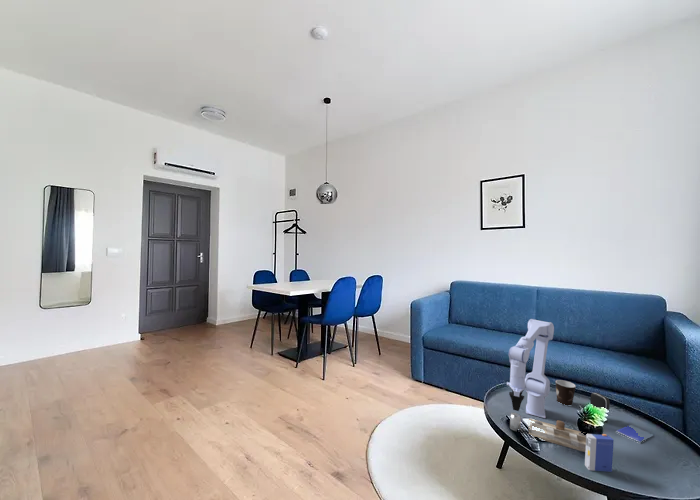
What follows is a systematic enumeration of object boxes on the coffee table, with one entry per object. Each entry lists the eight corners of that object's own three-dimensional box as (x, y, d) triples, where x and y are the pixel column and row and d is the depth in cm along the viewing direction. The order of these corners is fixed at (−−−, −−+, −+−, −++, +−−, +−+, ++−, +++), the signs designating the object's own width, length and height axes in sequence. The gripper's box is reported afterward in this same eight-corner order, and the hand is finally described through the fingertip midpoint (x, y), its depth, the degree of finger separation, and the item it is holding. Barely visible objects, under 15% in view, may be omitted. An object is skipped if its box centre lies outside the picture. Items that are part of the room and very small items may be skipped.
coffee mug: (555, 397, 170) (555, 378, 169) (574, 402, 165) (575, 383, 164) (553, 405, 160) (554, 386, 160) (574, 411, 155) (575, 391, 155)
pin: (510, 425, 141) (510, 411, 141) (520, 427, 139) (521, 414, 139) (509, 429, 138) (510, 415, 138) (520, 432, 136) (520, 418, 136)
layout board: (528, 420, 146) (529, 411, 146) (593, 437, 134) (593, 428, 134) (528, 436, 134) (529, 426, 133) (599, 456, 122) (600, 445, 122)
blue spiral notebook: (639, 441, 131) (653, 433, 137) (616, 430, 138) (629, 423, 144) (639, 444, 131) (653, 437, 137) (615, 433, 138) (629, 427, 144)
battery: (610, 422, 146) (611, 398, 146) (603, 423, 145) (604, 398, 145) (595, 414, 153) (596, 391, 153) (588, 415, 152) (590, 391, 152)
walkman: (606, 466, 116) (607, 434, 116) (612, 472, 113) (613, 438, 113) (583, 464, 117) (585, 432, 116) (588, 470, 114) (590, 437, 114)
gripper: (508, 367, 146) (506, 397, 147) (506, 378, 134) (505, 411, 134) (525, 371, 143) (524, 401, 143) (525, 383, 130) (524, 415, 131)
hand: (516, 406), depth 138 cm, fingers open, 7 cm apart
